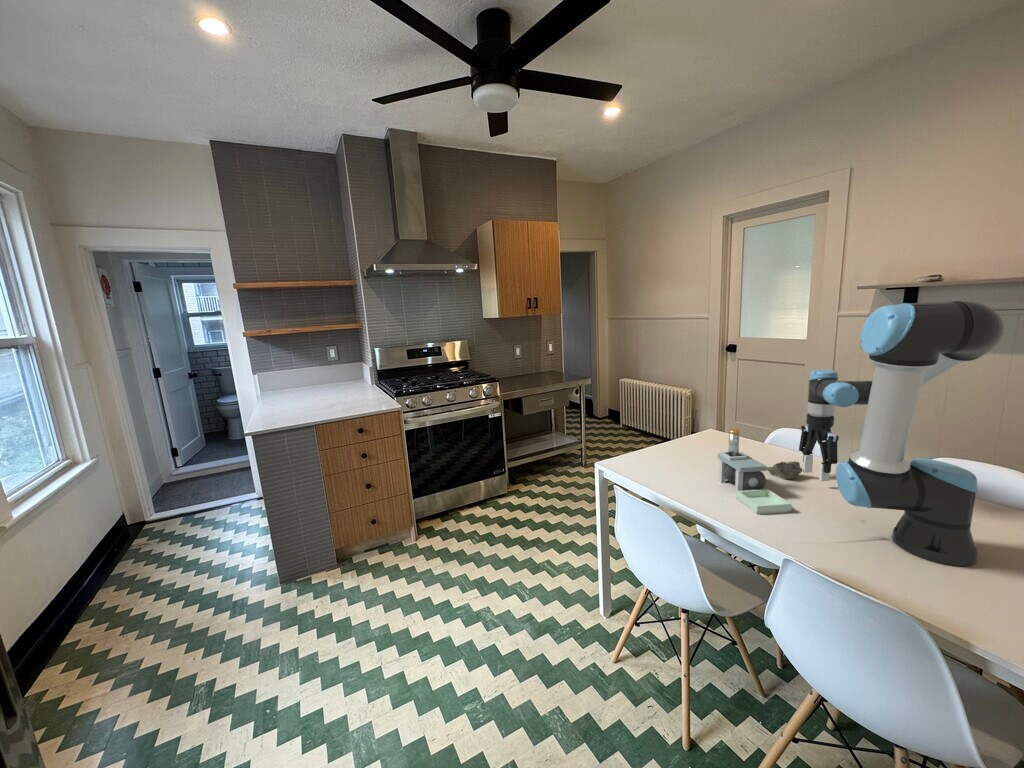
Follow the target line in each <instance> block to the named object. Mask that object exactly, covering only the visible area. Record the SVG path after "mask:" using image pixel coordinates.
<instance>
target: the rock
mask: <svg viewBox="0 0 1024 768" xmlns="http://www.w3.org/2000/svg"><path fill="white" fill-rule="evenodd" d="M767 471H768V472H769V473H770V474H771V475H773V476H775V477H777V478H780V479H783V480H789V479H795V478H797V476H798V475H800V474H801V473H803V467H801V465H800V462H799V461H795V460H794V461H787V462H786V461H781V462H778V463H776V464H773V466H767Z"/></svg>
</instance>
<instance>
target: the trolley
mask: <svg viewBox="0 0 1024 768" xmlns="http://www.w3.org/2000/svg"><path fill="white" fill-rule="evenodd" d="M717 459H719V467H718V468H719V470H718V471H719V473H718V475H719V476H718V482H719V483H721V484H722V483H723V484H724V482H726V481H727V482H729V483H731V484H733V485H734V494H735V495H736V491H745V490H761V489H765V486H766V483H767V479H766V476H765V474H764V472H766V471H768V470H767V467H768V466H767V465H765V464H764V463H762V462H760V461H758V460H756V459H755V458H753V457H751V456H749V455H747V454H745V453H744V452H741V451H739V454H738V456H735V457H730V456H729V455H728V451H720V453H717Z"/></svg>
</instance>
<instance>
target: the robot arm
mask: <svg viewBox="0 0 1024 768" xmlns="http://www.w3.org/2000/svg"><path fill="white" fill-rule="evenodd" d="M1004 334H1005V324H1004V321H1003V318H1002V316H1000V313H998V312H997V310H995V309H993V308H992V307H990V306H988V305H986V304H985V303H984V304H983V303H980V302H976V301H969V300H953V301H934V302H933V301H932V302H914V303H913V302H911V303H909V302H908V303H906V302H903V303H899V304H889V305H883V306H881V307H878V308H876V309H875V310H874V311H873V312H871V313H870V314H869V316H868V317H867V318H866V320H865V322H864V324H863V326H862V329H861V333H860V341H861V343H860V345H861V349H862V350H863V352H864V353H866V354H867V355H869V356H868V360H869V361H870V362H871V363H872V364H873V365H874V367H875V368H874V372H873V376H872V380H839V376H838V371H835V370H832V369H815V370H811V371H810V372H809V378H808V393H807V405H806V407H807V408H806V412H807V414H806V421H805V423H806V424H807V425H801V427H800V429H801V434H800V439H799V441H800V442H799V444H798V445H799V446H798V451H800V452H802V455H803V458H802V462H803V467H802V470H803V471H802V473H813V463H814V453H813V451H814V448H815V446H816V444H818V445H819V449H820V453H821V458H822V462H820V468H819V481H820V482H829V481H830V475H831V472H832V465H836V464H837V465H836V467H835V478H836V484H837V487H838V490H839V492H840V494H841V496H842V498H843V499H844V500H845V501H846V502H847V503H848V504H850V505H852V506H854V507H862V508H867V509H883V510H896V511H904V512H903V514H902V516H901V518H900V519H899V520H898V521H897V523H896V525H895V526H894V528H893V529H892V534H891V539H892V541H893V543H895V544H896V545H897V546H898V547H899V548H900V549H903V550H904V551H905V552H908V553H910V554H913V555H915V556H917V557H919V558H922V559H925V560H929V561H931V562H935V563H938V564H939V563H940V564H943V565H944V564H945V565H949V566H950V565H951V566H960V567H962V566H963V567H966V566H971V565H972V566H973V565H974V564H976V563H977V562H978V561H977V560H978V556H979V554H978V553H979V552H978V550H977V547H976V546H975V543H974V542H975V541H974V538H973V533H972V530H971V527H972V526H971V525H972V521H973V515H974V508H975V501H976V494H977V493H978V479H977V476H976V475H975V473H973V472H972V471H969V470H968V469H966V468H963V467H961V466H957V465H955V464H952V463H948V462H945V461H940V460H936V459H931V458H923V457H916V458H912V459H910V461H909V462H908V461H907V460H906V459H905V454H906V450H907V446H908V442H909V438H910V435H911V430H912V426H913V423H914V422H913V421H914V418H915V414H916V410H917V406H918V402H919V397H920V394H921V389H922V387H925V386H926V385H927V384H929V383H931V382H932V381H934V380H936V379H937V378H938V377H940V376H942V375H943V374H945V373H947V372H949V371H951V369H953V368H955V367H957V366H958V365H960V364H962V363H963V362H972V361H975V360H978V359H979V358H981V357H982V356H984V355H986V354H988V353H989V352H990V351H992V350H993V349H995V348H996V347H997V345H998V344H999V343H1000V342H1001V341H1002V338H1003V336H1004ZM854 405H855V406H856V405H858V406H860V405H862V406H863V405H865V406H867V407H866V410H865V411H866V412H865V415H864V422H863V426H862V430H861V436H860V441H859V445H858V449H856V450H853V451H851V452H850V453H849V457H848V461H845V460H844V461H841V462H838V441H839V438H840V437H839V435H834V434H832V430H831V429H832V428H833V426H834V424H835V412H836V411H835V410H836V407H839V408H848V407H851V406H854Z"/></svg>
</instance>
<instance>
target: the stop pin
mask: <svg viewBox="0 0 1024 768" xmlns="http://www.w3.org/2000/svg"><path fill="white" fill-rule="evenodd" d="M740 434H741V431H740V429H736V428H729V429H728V448H727V449H728V450H727V452H728V455H729V456H730V457H735V456H738V454H739V452H740V450H739V448H740Z"/></svg>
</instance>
